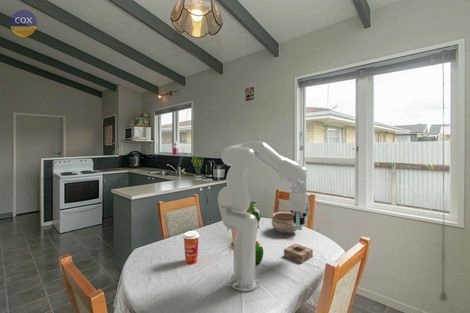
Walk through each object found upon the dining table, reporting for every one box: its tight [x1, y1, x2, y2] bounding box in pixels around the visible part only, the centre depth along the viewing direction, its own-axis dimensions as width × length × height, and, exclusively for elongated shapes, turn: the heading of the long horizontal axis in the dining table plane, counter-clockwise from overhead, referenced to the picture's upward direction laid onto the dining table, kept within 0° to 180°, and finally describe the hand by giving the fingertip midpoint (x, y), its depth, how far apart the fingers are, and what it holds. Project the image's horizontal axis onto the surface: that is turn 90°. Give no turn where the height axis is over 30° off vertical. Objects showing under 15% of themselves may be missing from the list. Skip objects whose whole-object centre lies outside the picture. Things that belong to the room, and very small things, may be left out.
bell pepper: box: [255, 242, 264, 265], centre depth 125 cm, size 8×8×10 cm
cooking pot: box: [271, 211, 297, 235], centre depth 167 cm, size 25×19×12 cm
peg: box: [296, 211, 303, 231], centre depth 130 cm, size 3×3×10 cm
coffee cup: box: [182, 230, 200, 265], centre depth 125 cm, size 8×8×15 cm
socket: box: [283, 243, 314, 264], centre depth 131 cm, size 11×11×4 cm
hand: (298, 223), depth 130 cm, fingers closed on peg, 3 cm apart
